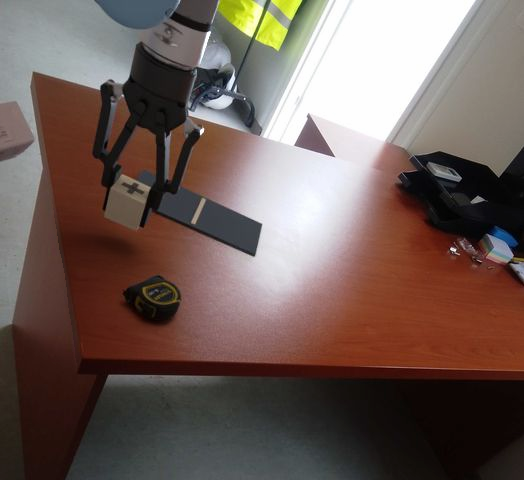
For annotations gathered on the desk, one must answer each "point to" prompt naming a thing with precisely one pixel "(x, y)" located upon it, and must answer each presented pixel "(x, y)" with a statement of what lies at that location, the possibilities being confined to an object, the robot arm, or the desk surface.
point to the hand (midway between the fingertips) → (126, 214)
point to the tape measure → (154, 298)
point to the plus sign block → (127, 202)
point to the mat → (207, 217)
